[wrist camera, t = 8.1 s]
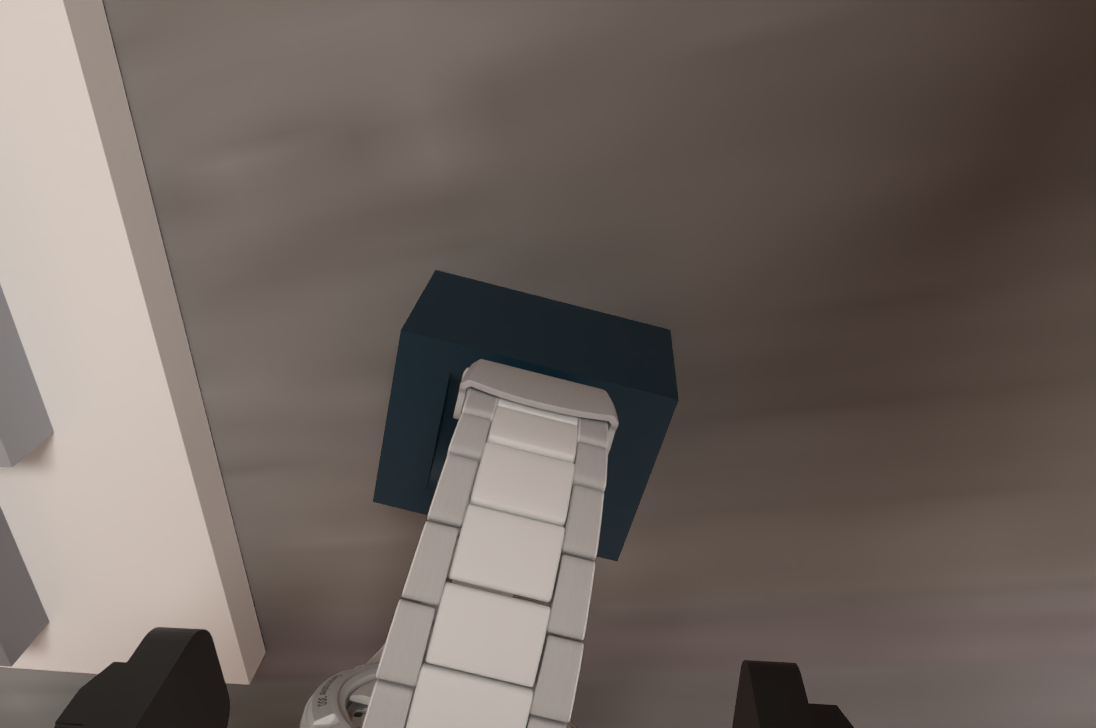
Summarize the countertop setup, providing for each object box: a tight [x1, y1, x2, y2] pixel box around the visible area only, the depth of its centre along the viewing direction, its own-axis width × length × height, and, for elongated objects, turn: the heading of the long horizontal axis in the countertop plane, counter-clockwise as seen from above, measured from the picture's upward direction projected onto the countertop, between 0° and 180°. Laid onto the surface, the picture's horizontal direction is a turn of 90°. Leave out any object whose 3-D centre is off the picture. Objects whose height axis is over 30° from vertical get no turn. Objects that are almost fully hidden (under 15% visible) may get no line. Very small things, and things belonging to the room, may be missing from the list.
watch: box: [299, 270, 678, 728], centre depth 14 cm, size 6×8×11 cm
